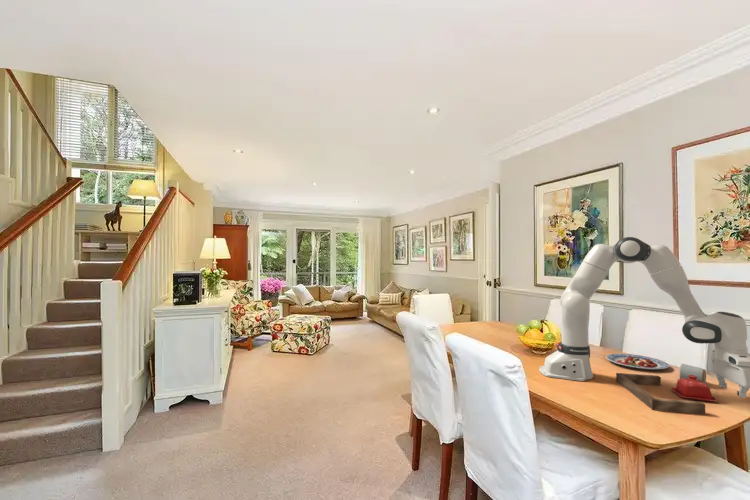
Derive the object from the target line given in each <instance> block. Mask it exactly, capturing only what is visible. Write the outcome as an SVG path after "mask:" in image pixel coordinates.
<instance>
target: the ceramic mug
mask: <svg viewBox="0 0 750 500" xmlns="http://www.w3.org/2000/svg"><path fill="white" fill-rule="evenodd" d="M679 366H680V367H679V374H678V375H679V379H682V378H689V375H694V376H696V377H697V378H696V380H699V381H702V382H704V383H705V384H706V383H707V371H706V369H704V368H702V367H698V366H693V365H691V364H690V365H689V364H686V363H681V364H680V365H679Z"/></svg>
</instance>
